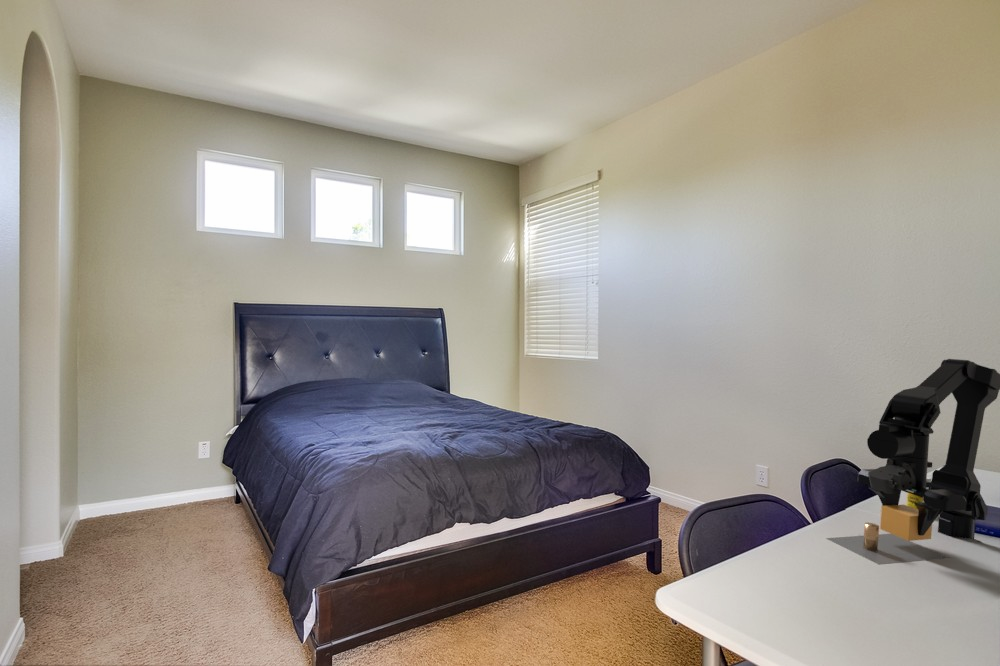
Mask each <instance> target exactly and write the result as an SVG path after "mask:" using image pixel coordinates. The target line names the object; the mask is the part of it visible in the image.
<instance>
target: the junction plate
mask: <svg viewBox="0 0 1000 666" xmlns="http://www.w3.org/2000/svg"><path fill="white" fill-rule="evenodd" d="M825 539H826V540H828V541H830V542H832V543H834V544H836V545H838V546H840V547H842V548H845V549H847V550H849V551H850V552H852V553H854V554H857V555H859V556H861V557H863V558H865V559H867V560H869V561H871V562H873V563H874V564H877V565H887V564H899V563H908V562H909V563H910V562H921V561H922V562H923V561H931V560H932V561H934V560H943V559H950V556H946V555H944V554H943V553H940V552H937V551H935V550H932V549H930V548H928V547H925V546H922V545H920V544H918V543H915V542H913V541H908V540H905V539H903V538H900V537H898V536H896V535H893V534H891V533H879V536H878V551H869V550H866V549H864V548H863V544H864V535H852V536H839V537H826V538H825Z"/></svg>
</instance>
